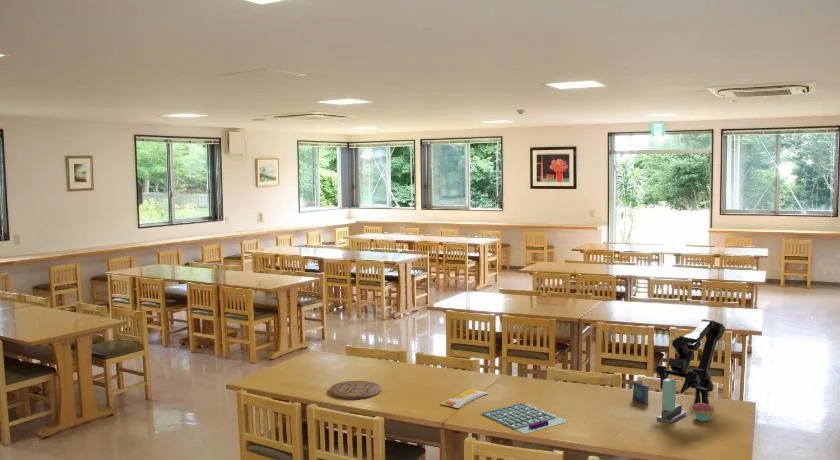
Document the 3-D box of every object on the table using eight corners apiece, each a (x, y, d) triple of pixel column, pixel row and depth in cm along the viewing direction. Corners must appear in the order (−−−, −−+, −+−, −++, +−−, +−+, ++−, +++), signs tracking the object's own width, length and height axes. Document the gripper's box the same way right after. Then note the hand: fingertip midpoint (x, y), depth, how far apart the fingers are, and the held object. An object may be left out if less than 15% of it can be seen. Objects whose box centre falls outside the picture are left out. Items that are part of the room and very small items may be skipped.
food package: (471, 386, 349) (488, 390, 343) (471, 391, 349) (488, 395, 343) (439, 401, 327) (457, 405, 321) (439, 406, 327) (457, 410, 321)
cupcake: (687, 417, 311) (688, 390, 310) (703, 414, 314) (704, 388, 313) (701, 423, 303) (702, 396, 302) (717, 421, 306) (718, 394, 305)
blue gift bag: (649, 404, 328) (650, 381, 327) (644, 405, 327) (645, 382, 326) (635, 398, 336) (636, 376, 335) (630, 399, 335) (631, 377, 334)
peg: (666, 407, 311) (667, 378, 310) (675, 409, 308) (676, 380, 307) (662, 409, 308) (662, 380, 307) (670, 411, 305) (671, 382, 304)
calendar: (526, 404, 330) (526, 399, 329) (570, 422, 306) (570, 417, 306) (481, 416, 314) (481, 411, 314) (524, 435, 291) (524, 430, 291)
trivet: (383, 384, 358) (383, 381, 358) (376, 401, 333) (376, 397, 333) (335, 383, 360) (335, 379, 360) (324, 399, 335) (324, 395, 335)
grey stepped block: (673, 411, 318) (673, 402, 317) (685, 415, 313) (686, 405, 313) (656, 420, 307) (657, 410, 307) (669, 423, 303) (670, 413, 303)
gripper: (657, 347, 317) (645, 376, 311) (698, 354, 304) (686, 385, 297) (665, 360, 323) (653, 389, 317) (705, 369, 310) (693, 399, 303)
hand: (670, 390), depth 308 cm, fingers open, 9 cm apart
